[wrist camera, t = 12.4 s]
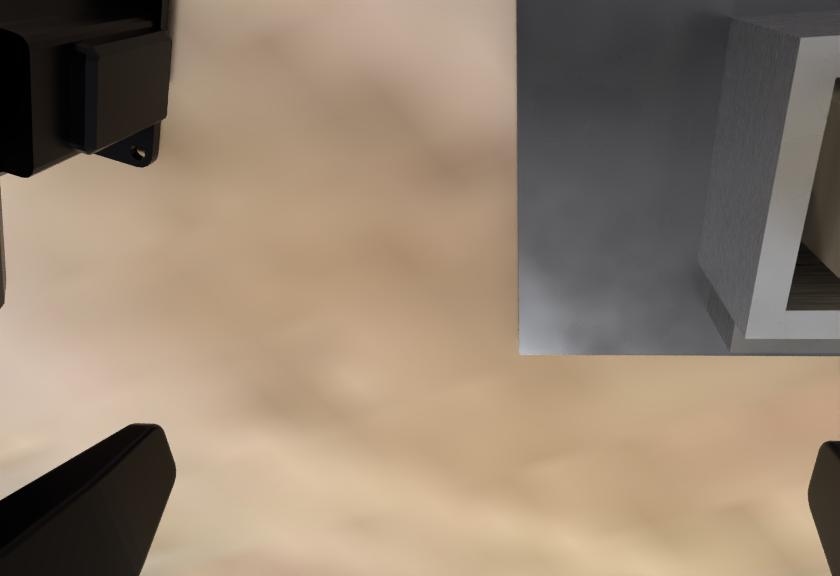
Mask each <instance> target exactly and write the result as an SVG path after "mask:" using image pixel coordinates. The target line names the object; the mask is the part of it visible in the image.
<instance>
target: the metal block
mask: <svg viewBox="0 0 840 576" xmlns="http://www.w3.org/2000/svg"><path fill="white" fill-rule="evenodd" d="M801 241H802V242H803V243H804V244H805V245H806V246H807V247H808V248H809V249H810V250H811V251H812V252H813V253H814V254H815V255H816V256H817V257H818V258H819V259H820V260H821V261H822V262H823V263H824V264H825V265H826V266H827V267H828V268H829V269H830V270H831V271H832V272H833V273H834V274H835V275H836V276H837V277H838V278H839V279H840V78H836V79H835V84H834V89H833V93H832V98H831V102H830V107H829V112H828V116H827V121H826V126H825V130H824V135H823V139H822V144H821V149H820V153H819V158H818V163H817V167H816V172H815V176H814V181H813V186H812V190H811V195H810V200H809V204H808V209H807V213H806V218H805V223H804V227H803V232H802V237H801Z"/></svg>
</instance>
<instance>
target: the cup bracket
mask: <svg viewBox="0 0 840 576" xmlns="http://www.w3.org/2000/svg"><path fill="white" fill-rule="evenodd" d="M516 15H517V148H518V281H519V355H707V356H840V279H839V278H838V277H837V276H836V275H835V274H834V273H833V272H832V271H831V270H830V269H829V268H828V267H827V266H826V265H825V264H824V263H823V262H822V261H821V260H820V259H819V258H818V257H817V256H816V255H815V254H814V253H813V252H812V251H811V250H810V249H809V248H808V247H807V246H806V245H805V244H804V243H803V242H802V241H801V237H802V232H803V227H804V223H805V218H806V213H807V209H808V204H809V200H810V195H811V190H812V186H813V181H814V176H815V172H816V167H817V163H818V158H819V153H820V149H821V144H822V139H823V135H824V130H825V126H826V121H827V116H828V112H829V107H830V102H831V98H832V93H833V89H834V84H835V79H836V78H840V0H516Z"/></svg>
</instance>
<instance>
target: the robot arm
mask: <svg viewBox="0 0 840 576" xmlns="http://www.w3.org/2000/svg"><path fill="white" fill-rule="evenodd" d="M168 5H169V0H0V176H2V175H5V174H7V173H9V174H13V175H16V176H19V177H24V178H28V177H31V176H33V175H35V174H37V173H39V172H41V171H44V170H46V169H48V168H50V167H52V166H54V165H56V164H59V163H61V162H63V161H65V160H67V159H69V158H72V157H74V156H76V155H78V154H80V153H84V154H87V155H92V154H97V155H100V156H103V157H106V158H110V159H113V160H116V161H119V162H123V163H126V164H129V165H132V166H136V167H142V168H143V167H146V166H148V165H150V164H152V163H153V162H154V161H155V160H156V159H157V157H158V151H159V136H160V122H161V120H163V119H164V118H166V116H167V105H168V91H169V77H170V63H171V50H172V40H171V38H170V36H169V34H168V32H167V20H168ZM137 145H138V146H140V147H142V148H143V150H144V151H145V157H143V156H141V155H140V154H139V153H138V152H137V148H136V147H137ZM5 290H6V268H5V252H4V236H3V220H2V204H1V188H0V308H1V307H2V306H3V304H4V303H5ZM175 478H176V466H175V462H174V459H173V456H172V453H171V450H170V447H169V444H168V441H167V438H166V435H165V432H164V430H163V429H162V428H161V426H159V425H157V424H145V423H135V424H130V425H128V426H126V427H125V428H123V429H121V430H119V431H118V432H116V433H114V434H113V435H111V436H109V437H108V438H106V439H104V440H102V441H101V442H99V443H97V444H96V445H94V446H92V447H90V448H89V449H87V450H85V451H84V452H82V453H80V454H79V455H77V456H75V457H73V458H72V459H70V460H68V461H67V462H65V463H63V464H61V465H60V466H58V467H56V468H55V469H53V470H51V471H50V472H48V473H46V474H44V475H43V476H41V477H39V478H38V479H36V480H34V481H33V482H31V483H29V484H27V485H26V486H24V487H22V488H21V489H19V490H17V491H15V492H14V493H12V494H10V495H9V496H7V497H5V498H4V499H2V500H0V576H139V575H140V572H141V570H142V568H143V565H144V563H145V560H146V557H147V555H148V552H149V549H150V547H151V544H152V541H153V539H154V536H155V533H156V531H157V528H158V525H159V523H160V520H161V517H162V515H163V512H164V509H165V507H166V504H167V501H168V499H169V496H170V493H171V491H172V488H173V485H174V482H175ZM808 501H809V507H810V510H811V513H812V516H813V519H814V522H815V525H816V528H817V531H818V534H819V537H820V541H821V544H822V547H823V550H824V553H825V556H826V559H827V562H828V565H829V568H830V571H831V574H832V576H840V441H827V442H825V443H823V444H822V445H821V447H820V449H819V452H818V455H817V459H816V462H815V466H814V470H813V473H812V477H811V480H810V484H809V488H808Z"/></svg>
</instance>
